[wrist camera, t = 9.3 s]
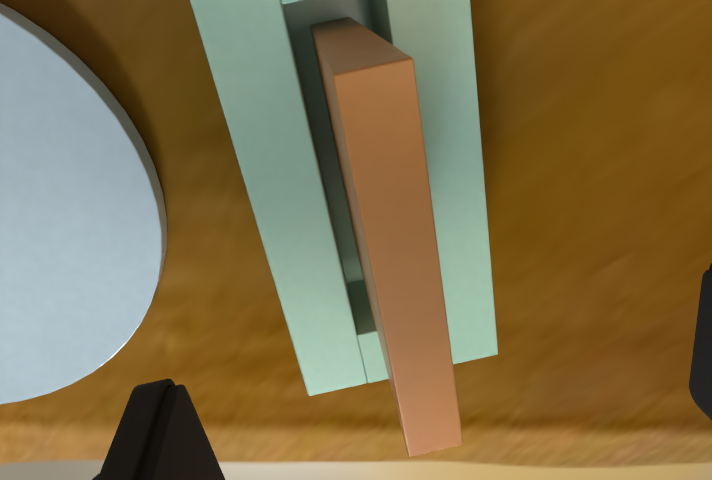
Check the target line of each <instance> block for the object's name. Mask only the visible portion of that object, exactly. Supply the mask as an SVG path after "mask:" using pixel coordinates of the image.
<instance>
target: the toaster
mask: <svg viewBox="0 0 712 480" xmlns="http://www.w3.org/2000/svg"><path fill="white" fill-rule="evenodd" d="M190 2H191V5H192V8H193V12H194V15H195V18H196V22H197V25H198V28H199V32H200V35H201V38H202V42H203V45H204V48H205V52H206V55H207V58H208V62H209V65H210V69H211V72H212V75H213V79H214V82H215V85H216V89H217V92H218V95H219V99H220V102H221V105H222V109H223V112H224V115H225V119H226V122H227V125H228V129H229V132H230V135H231V139H232V142H233V145H234V149H235V152H236V155H237V159H238V162H239V165H240V169H241V172H242V175H243V179H244V182H245V185H246V189H247V192H248V195H249V199H250V202H251V205H252V209H253V212H254V216H255V219H256V222H257V226H258V229H259V232H260V236H261V239H262V242H263V246H264V249H265V252H266V256H267V259H268V262H269V266H270V269H271V272H272V276H273V279H274V282H275V286H276V289H277V292H278V296H279V299H280V302H281V306H282V309H283V312H284V316H285V319H286V322H287V326H288V329H289V332H290V336H291V339H292V342H293V346H294V349H295V352H296V356H297V359H298V363H299V366H300V369H301V373H302V376H303V379H304V383H305V386H306V389H307V393H308V395H309V396H311V395H316V394H320V393H325V392H329V391H334V390H338V389H343V388H347V387H352V386H356V385H361V384H365V383H367V381H368V383H371V382H376V381H380V380H385V379H389V377H388V374H387V370H386V366H385V362H384V358H383V354H382V350H381V346H380V342H379V338H378V334H377V330H376V326H375V322H374V318H373V314H372V310H371V306H370V302H369V298H368V294H367V290H366V286H365V282H364V278H363V274H362V270H361V266H360V262H359V258H358V253H357V248H356V243H355V238H354V234H353V229H352V224H351V219H350V215H349V210H348V205H347V200H346V195H345V191H344V186H343V181H342V176H341V171H340V167H339V162H338V157H337V152H336V148H335V143H334V138H333V133H332V128H331V124H330V119H329V114H328V109H327V105H326V100H325V95H324V90H323V85H322V81H321V76H320V71H319V66H318V62H317V57H316V52H315V47H314V42H313V38H312V33H311V28H310V25H312V24H317V23H322V22H327V21H331V20H336V19H341V18H346V17H351V18H352V19H354V20H355V21H357V22H358V23H360V24H361V25H363V26H364V27H366V28H367V29H369V30H371V31H372V32H374V33H375V34H377V35H378V36H380V37H381V38H383V39H384V40H386V41H387V42H389V43H390V44H392V45H394V46H395V47H397V48H398V49H400V50H401V51H403V52H404V53H406V54H407V55H409V56H410V57H412V58H413V60H414V67H415V75H416V83H417V91H418V98H419V106H420V114H421V121H422V129H423V137H424V145H425V152H426V160H427V168H428V175H429V183H430V191H431V199H432V206H433V214H434V222H435V229H436V237H437V245H438V253H439V260H440V268H441V276H442V284H443V291H444V299H445V307H446V314H447V322H448V330H449V338H450V345H451V353H452V361H453V364H456V363H461V362H465V361H469V360H474V359H478V358H483V357H487V356H492V355H496V354H498V348H497V336H496V323H495V310H494V298H493V285H492V272H491V260H490V247H489V234H488V222H487V209H486V196H485V184H484V171H483V158H482V146H481V133H480V120H479V108H478V95H477V82H476V70H475V57H474V44H473V32H472V19H471V6H470V0H190Z"/></svg>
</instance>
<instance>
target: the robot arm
mask: <svg viewBox="0 0 712 480" xmlns="http://www.w3.org/2000/svg"><path fill="white" fill-rule="evenodd" d="M689 389H690V393H691V396H692V398H693V400H694V401H695V403H696V404H697V405H698V407H699V408H700V409H701V410H702V411H703V412H704V413H705V414H706V415H707V416H708V417H709V418H710V419H711V420H712V264H711V265H710V268H709V270H707V271H705V273H704V274H703V277H702V284H701V292H700V300H699V308H698V316H697V325H696V333H695V341H694V349H693V357H692V365H691V373H690V381H689ZM92 480H225V478H224V476H223V473H222V471H221V469H220V467H219V464H218V462H217V459H216V457H215V455H214V452H213V450H212V448H211V445H210V443H209V441H208V438H207V436H206V434H205V431H204V429H203V427H202V424H201V422H200V420H199V417H198V415H197V413H196V410H195V408H194V406H193V403H192V401H191V399H190V396H189V394H188V392H187V390H186V388H185V386H184V385H176V386H175V384H174V382H173V381H172V380H171V379H164V380H160V381H155V382H151V383H146V384H141V385H137V386H136V387H135V388H134V389H133V391H132V393H131V396H130V398H129V401H128V403H127V406H126V408H125V411H124V413H123V416H122V419H121V421H120V424H119V426H118V429H117V431H116V434H115V436H114V439H113V441H112V444H111V446H110V449H109V451H108V454H107V457H106V459H105V462H104V464H103V467H102V469H101V472H100V474H98V475H97V476H96V477H94V478H93V479H92Z"/></svg>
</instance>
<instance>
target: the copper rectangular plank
mask: <svg viewBox="0 0 712 480" xmlns="http://www.w3.org/2000/svg"><path fill="white" fill-rule="evenodd" d="M310 28H311V33H312V38H313V42H314V47H315V52H316V57H317V62H318V66H319V71H320V76H321V81H322V85H323V90H324V95H325V100H326V105H327V109H328V114H329V119H330V124H331V128H332V133H333V138H334V143H335V148H336V152H337V157H338V162H339V167H340V171H341V176H342V181H343V186H344V191H345V195H346V200H347V205H348V210H349V215H350V219H351V224H352V229H353V234H354V238H355V243H356V248H357V253H358V258H359V262H360V266H361V270H362V274H363V278H364V282H365V286H366V290H367V294H368V298H369V302H370V306H371V310H372V314H373V318H374V322H375V326H376V330H377V334H378V338H379V342H380V346H381V350H382V354H383V358H384V362H385V366H386V370H387V374H388V377H389V381H390V385H391V389H392V393H393V397H394V401H395V405H396V409H397V413H398V417H399V421H400V425H401V429H402V433H403V437H404V441H405V445H406V449H407V453H408V456H415V455H419V454H424V453H428V452H432V451H437V450H441V449H446V448H450V447H455V446H459V445H462V444H463V438H462V430H461V423H460V415H459V407H458V399H457V392H456V384H455V376H454V368H453V361H452V353H451V345H450V338H449V330H448V322H447V314H446V307H445V299H444V291H443V284H442V276H441V268H440V260H439V253H438V245H437V237H436V229H435V222H434V214H433V206H432V199H431V191H430V183H429V175H428V168H427V160H426V152H425V145H424V137H423V129H422V121H421V114H420V106H419V98H418V91H417V83H416V75H415V67H414V60H413V58H412V57H410V56H409V55H407V54H406V53H404V52H403V51H401V50H400V49H398V48H397V47H395V46H394V45H392V44H390V43H389V42H387V41H386V40H384V39H383V38H381V37H380V36H378V35H377V34H375V33H374V32H372V31H371V30H369V29H367V28H366V27H364V26H363V25H361V24H360V23H358V22H357V21H355V20H354V19H352V18H351V17H346V18H341V19H336V20H331V21H327V22H322V23H317V24H312V25H310Z"/></svg>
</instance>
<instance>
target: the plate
mask: <svg viewBox="0 0 712 480" xmlns="http://www.w3.org/2000/svg"><path fill="white" fill-rule="evenodd" d="M166 249H167V217H166V210H165V204H164V198H163V192H162V189H161V186H160V182H159V179H158V176H157V173H156V169H155V166H154V164H153V162H152V159H151V157H150V155H149V153H148V151H147V148H146V146H145V144H144V142H143V140H142V138H141V136H140V134H139V133H138V131H137V129H136V128H135V126H134V125H133V123H132V121H131V120H130V118H129V116H128V115H127V113H126V111H125V110H124V109H123V107H122V106H121V105H120V104H119V102H118V101H117V100H116V98H115V97H114V96H113V95H112V93H111V92H110V91H109V89H108V88H107V87H106V86H105V84H104V83H103V82H102V81H101V80H100V79H99V78H98V77H97V76H96V75H95V74H94V73H93V72H92V71H91V70H90V69H89V68H88V67H87V66H86V65H85V64H84V63H83V62H82V61H81V60H80V59H79V58H78V57H77V56H76V55H75V54H74V53H72V52H71V51H70V50H69V49H68V48H66V47H65V46H64V45H63V44H62V43H60V42H59V41H58V40H57V39H55V38H54V37H53V36H52V35H51V34H49V33H48V32H47V31H45V30H44V29H42V28H41V27H39V26H38V25H36V24H35V23H33V22H32V21H30V20H29V19H27V18H26V17H24V16H23V15H21V14H20V13H18V12H17V11H15V10H13V9H11V8H9V7H7V6H5V5H3V4H2V3H0V404H4V403H10V402H16V401H22V400H27V399H30V398H34V397H37V396H41V395H44V394H48V393H51V392H53V391H56V390H58V389H61V388H63V387H65V386H68V385H70V384H72V383H74V382H76V381H78V380H80V379H81V378H83V377H85V376H87V375H89V374H90V373H92V372H94V371H95V370H96V369H98V368H99V367H100V366H102V365H103V364H104V363H106V362H107V361H108V360H110V359H111V358H112V357H113V356H114V355H115V354H116V353H117V352H118V351H119V350H120V349H121V348H122V347H123V346H124V345H125V344H126V343H127V342H128V341H129V339H130V338H131V336H132V335H133V334H134V332H135V331H136V330H137V328H138V327H139V325H140V324H141V322H142V320H143V318H144V316H145V314H146V312H147V310H148V308H149V306H150V304H151V302H152V300H153V298H154V295H155V293H156V290H157V288H158V284H159V281H160V278H161V275H162V272H163V269H164V262H165V256H166Z"/></svg>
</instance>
